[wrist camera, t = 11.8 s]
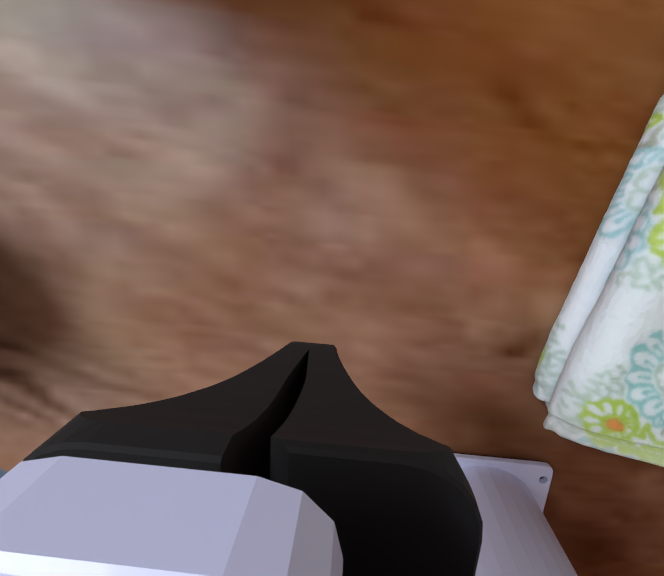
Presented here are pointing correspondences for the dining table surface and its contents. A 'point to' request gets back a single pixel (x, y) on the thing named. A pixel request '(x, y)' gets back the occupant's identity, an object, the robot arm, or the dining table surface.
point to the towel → (615, 322)
